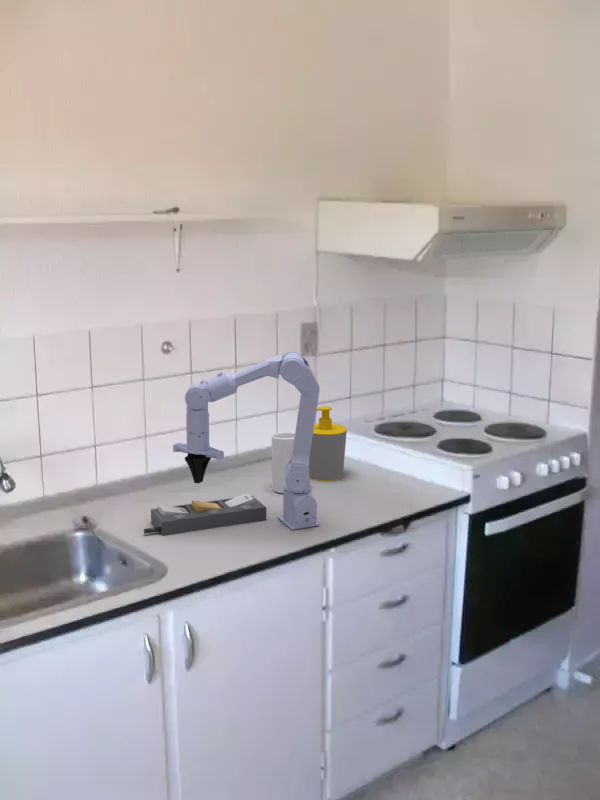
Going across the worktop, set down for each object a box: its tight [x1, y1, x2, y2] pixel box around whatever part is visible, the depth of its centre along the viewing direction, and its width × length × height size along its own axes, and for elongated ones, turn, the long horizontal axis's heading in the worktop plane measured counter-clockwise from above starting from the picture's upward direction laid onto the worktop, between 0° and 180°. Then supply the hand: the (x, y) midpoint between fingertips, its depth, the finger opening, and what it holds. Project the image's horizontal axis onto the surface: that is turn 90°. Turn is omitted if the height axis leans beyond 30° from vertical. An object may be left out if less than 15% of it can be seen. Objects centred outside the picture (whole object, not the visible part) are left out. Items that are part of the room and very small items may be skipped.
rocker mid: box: [190, 500, 221, 512], centre depth 233 cm, size 5×7×2 cm
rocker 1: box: [157, 504, 189, 516], centre depth 230 cm, size 5×7×2 cm
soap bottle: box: [309, 405, 348, 482], centre depth 269 cm, size 13×13×21 cm
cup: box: [271, 431, 295, 494], centre depth 256 cm, size 8×8×16 cm
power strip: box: [143, 495, 267, 536], centre depth 231 cm, size 10×32×4 cm, turn 115°
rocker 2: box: [224, 492, 255, 507], centre depth 237 cm, size 5×7×2 cm
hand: (198, 482), depth 231 cm, fingers closed
